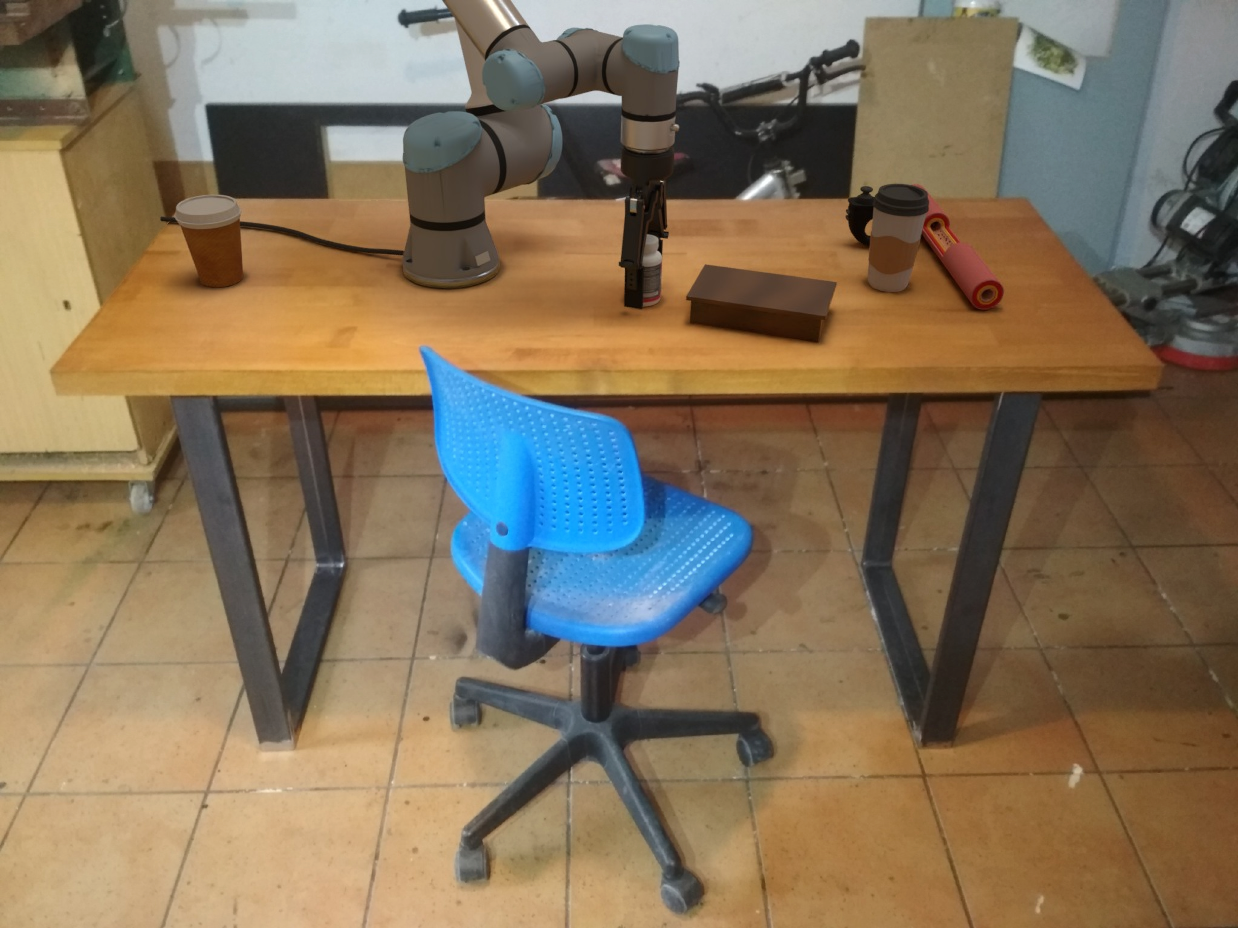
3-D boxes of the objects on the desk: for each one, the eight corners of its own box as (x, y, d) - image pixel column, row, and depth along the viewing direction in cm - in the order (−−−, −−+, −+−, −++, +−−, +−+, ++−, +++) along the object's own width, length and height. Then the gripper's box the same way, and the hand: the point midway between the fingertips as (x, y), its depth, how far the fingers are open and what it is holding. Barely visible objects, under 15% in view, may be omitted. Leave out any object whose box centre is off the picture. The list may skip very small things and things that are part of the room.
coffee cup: (919, 279, 169) (936, 188, 161) (908, 299, 163) (925, 205, 155) (867, 269, 172) (882, 179, 164) (854, 289, 166) (868, 196, 157)
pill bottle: (667, 302, 161) (670, 241, 155) (638, 310, 158) (640, 248, 153) (647, 289, 164) (649, 229, 159) (618, 297, 162) (619, 236, 157)
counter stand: (684, 324, 155) (686, 296, 152) (703, 291, 164) (705, 264, 162) (821, 344, 150) (825, 315, 148) (832, 309, 160) (836, 282, 157)
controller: (839, 240, 182) (847, 183, 177) (909, 239, 183) (919, 183, 178) (845, 250, 179) (853, 192, 173) (917, 249, 180) (927, 192, 174)
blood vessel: (897, 210, 195) (901, 183, 192) (924, 210, 195) (928, 183, 192) (967, 310, 160) (974, 279, 157) (1000, 310, 160) (1007, 279, 158)
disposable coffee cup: (265, 279, 165) (252, 204, 159) (209, 297, 159) (192, 221, 153) (233, 261, 171) (219, 189, 164) (178, 279, 165) (160, 204, 158)
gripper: (652, 173, 138) (647, 328, 151) (692, 126, 156) (685, 267, 169) (597, 167, 140) (596, 320, 153) (643, 121, 158) (639, 261, 170)
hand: (643, 292), depth 161 cm, fingers open, 10 cm apart
